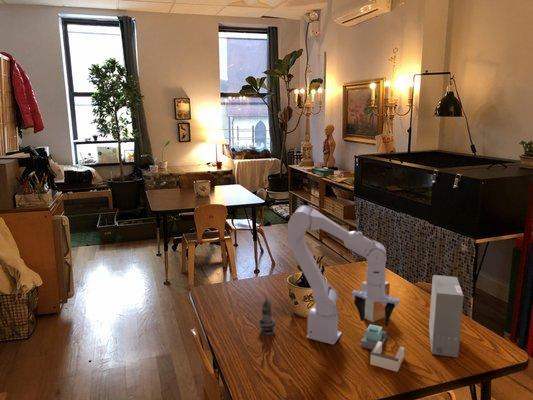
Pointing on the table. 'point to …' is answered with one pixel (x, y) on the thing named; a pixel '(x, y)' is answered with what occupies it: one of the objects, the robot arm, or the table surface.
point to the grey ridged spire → (267, 319)
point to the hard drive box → (445, 315)
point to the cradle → (370, 343)
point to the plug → (374, 333)
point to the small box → (375, 305)
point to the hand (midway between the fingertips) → (374, 322)
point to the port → (386, 358)
